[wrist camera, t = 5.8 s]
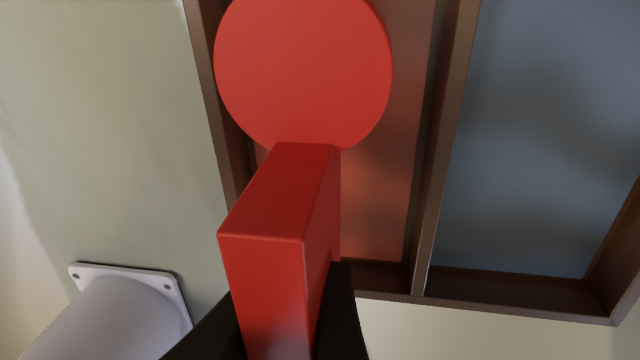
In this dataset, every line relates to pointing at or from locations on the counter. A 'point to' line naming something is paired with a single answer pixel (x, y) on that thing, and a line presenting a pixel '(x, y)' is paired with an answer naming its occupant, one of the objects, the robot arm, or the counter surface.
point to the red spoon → (294, 154)
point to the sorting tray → (484, 157)
